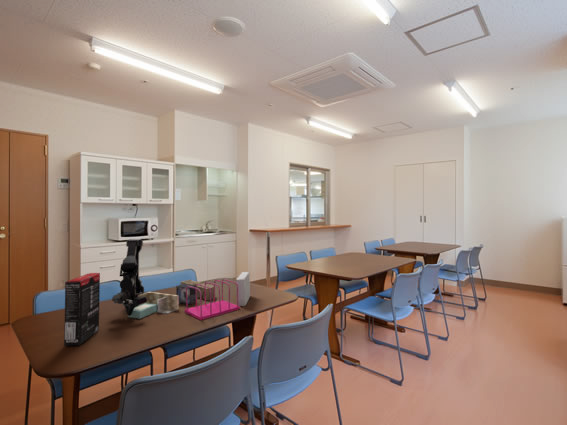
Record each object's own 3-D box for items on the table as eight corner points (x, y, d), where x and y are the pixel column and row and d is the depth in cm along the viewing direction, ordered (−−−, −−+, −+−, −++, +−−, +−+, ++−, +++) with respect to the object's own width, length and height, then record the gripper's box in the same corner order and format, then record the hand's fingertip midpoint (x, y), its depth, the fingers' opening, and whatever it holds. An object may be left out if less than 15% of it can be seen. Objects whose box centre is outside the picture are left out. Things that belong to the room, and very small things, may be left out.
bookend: (157, 312, 167) (157, 299, 167) (166, 308, 174) (166, 296, 174) (167, 314, 165) (167, 301, 165) (176, 310, 171) (176, 297, 171)
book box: (128, 317, 160) (128, 309, 160) (145, 310, 172) (145, 303, 172) (140, 319, 158) (140, 311, 158) (156, 311, 169) (156, 304, 169)
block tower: (216, 299, 196) (190, 290, 214) (216, 286, 195) (190, 278, 214) (206, 302, 189) (180, 292, 208) (206, 288, 189) (180, 280, 208)
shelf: (137, 309, 173) (137, 295, 173) (149, 305, 180) (149, 291, 180) (167, 314, 164) (167, 299, 164) (178, 309, 172) (178, 295, 172)
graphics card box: (85, 331, 142) (84, 272, 142) (101, 330, 143) (100, 272, 142) (63, 347, 125) (62, 281, 125) (81, 346, 126) (81, 280, 126)
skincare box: (242, 296, 199) (242, 271, 199) (250, 296, 199) (250, 271, 199) (236, 306, 178) (235, 279, 178) (245, 306, 178) (245, 279, 178)
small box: (175, 303, 184) (175, 285, 184) (182, 300, 190) (182, 283, 190) (189, 305, 180) (189, 287, 180) (196, 301, 186) (196, 284, 186)
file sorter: (184, 312, 167) (184, 284, 167) (222, 302, 185) (222, 277, 185) (200, 320, 155) (200, 290, 155) (240, 309, 172) (239, 281, 172)
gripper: (102, 287, 154) (102, 318, 154) (129, 291, 147) (129, 323, 147) (121, 282, 165) (121, 311, 165) (147, 285, 158) (147, 315, 158)
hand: (129, 315), depth 158 cm, fingers closed
